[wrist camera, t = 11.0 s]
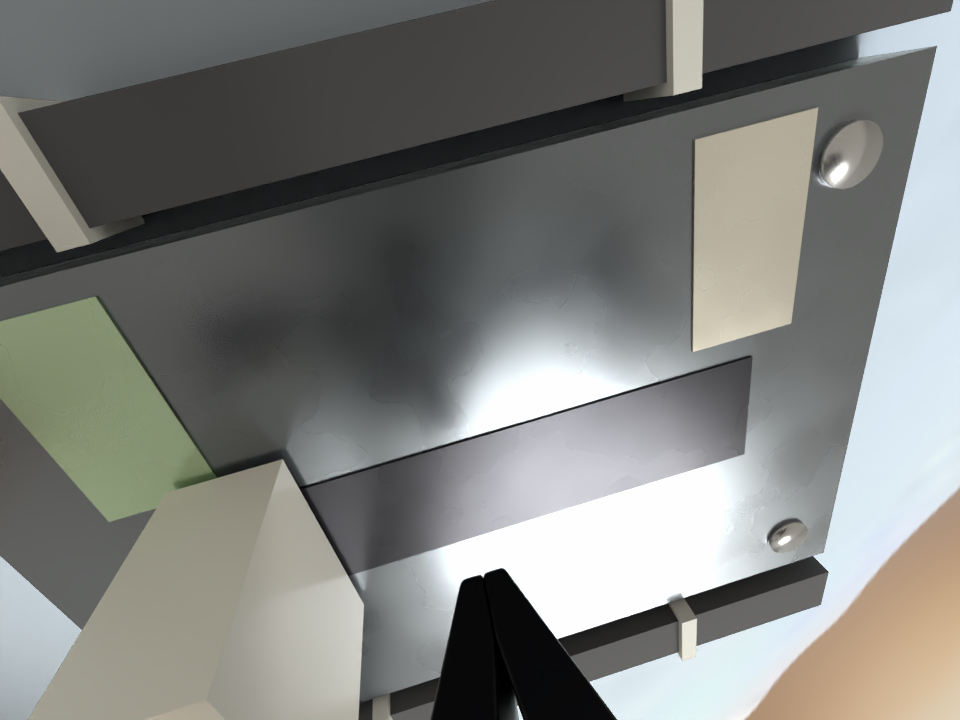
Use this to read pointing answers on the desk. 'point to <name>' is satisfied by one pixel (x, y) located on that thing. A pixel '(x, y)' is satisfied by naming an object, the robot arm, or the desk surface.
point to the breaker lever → (220, 615)
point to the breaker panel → (488, 363)
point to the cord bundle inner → (654, 631)
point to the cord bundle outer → (377, 99)
